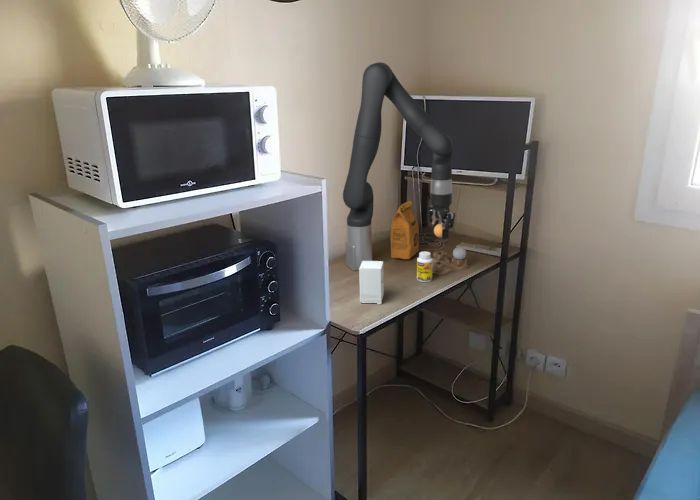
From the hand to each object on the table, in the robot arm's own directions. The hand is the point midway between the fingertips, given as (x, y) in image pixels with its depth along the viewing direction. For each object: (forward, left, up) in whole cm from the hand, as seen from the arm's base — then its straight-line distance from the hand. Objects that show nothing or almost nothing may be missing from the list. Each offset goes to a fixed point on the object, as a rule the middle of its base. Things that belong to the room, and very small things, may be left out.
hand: (440, 236), depth 198 cm
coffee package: (-2, +22, -14) cm, 26 cm away
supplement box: (-34, -8, -14) cm, 37 cm away
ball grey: (+9, 0, -8) cm, 12 cm away
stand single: (+6, +9, -14) cm, 18 cm away
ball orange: (0, 0, +2) cm, 2 cm away
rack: (+4, 0, -14) cm, 15 cm away
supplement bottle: (-9, -3, -14) cm, 17 cm away
